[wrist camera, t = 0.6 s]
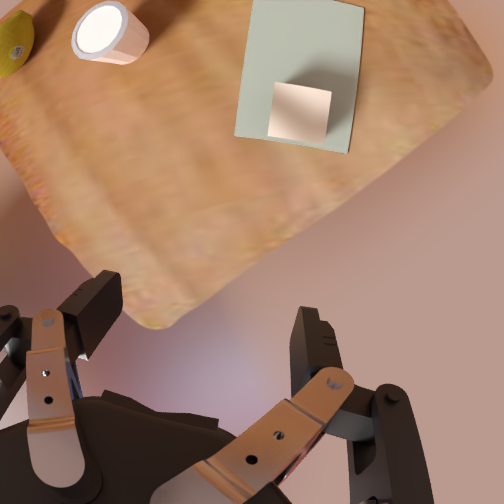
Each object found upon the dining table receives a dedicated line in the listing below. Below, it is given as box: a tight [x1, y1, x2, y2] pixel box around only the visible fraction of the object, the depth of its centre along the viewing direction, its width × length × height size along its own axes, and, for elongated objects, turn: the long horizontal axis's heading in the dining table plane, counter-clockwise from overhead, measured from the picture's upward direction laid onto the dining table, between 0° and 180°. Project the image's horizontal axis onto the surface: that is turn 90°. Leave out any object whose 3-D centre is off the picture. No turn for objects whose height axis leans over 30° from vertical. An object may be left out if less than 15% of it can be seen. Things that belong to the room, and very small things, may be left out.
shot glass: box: [71, 1, 149, 65], centre depth 22 cm, size 7×7×7 cm
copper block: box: [267, 82, 332, 145], centre depth 25 cm, size 5×5×5 cm
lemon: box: [0, 10, 34, 78], centre depth 21 cm, size 11×8×8 cm
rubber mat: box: [234, 0, 364, 154], centre depth 26 cm, size 18×12×1 cm, turn 173°
